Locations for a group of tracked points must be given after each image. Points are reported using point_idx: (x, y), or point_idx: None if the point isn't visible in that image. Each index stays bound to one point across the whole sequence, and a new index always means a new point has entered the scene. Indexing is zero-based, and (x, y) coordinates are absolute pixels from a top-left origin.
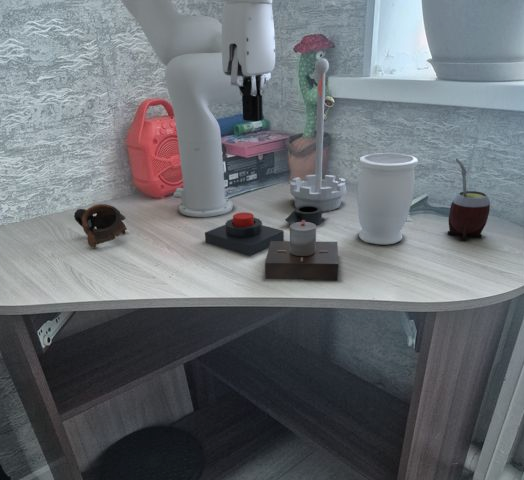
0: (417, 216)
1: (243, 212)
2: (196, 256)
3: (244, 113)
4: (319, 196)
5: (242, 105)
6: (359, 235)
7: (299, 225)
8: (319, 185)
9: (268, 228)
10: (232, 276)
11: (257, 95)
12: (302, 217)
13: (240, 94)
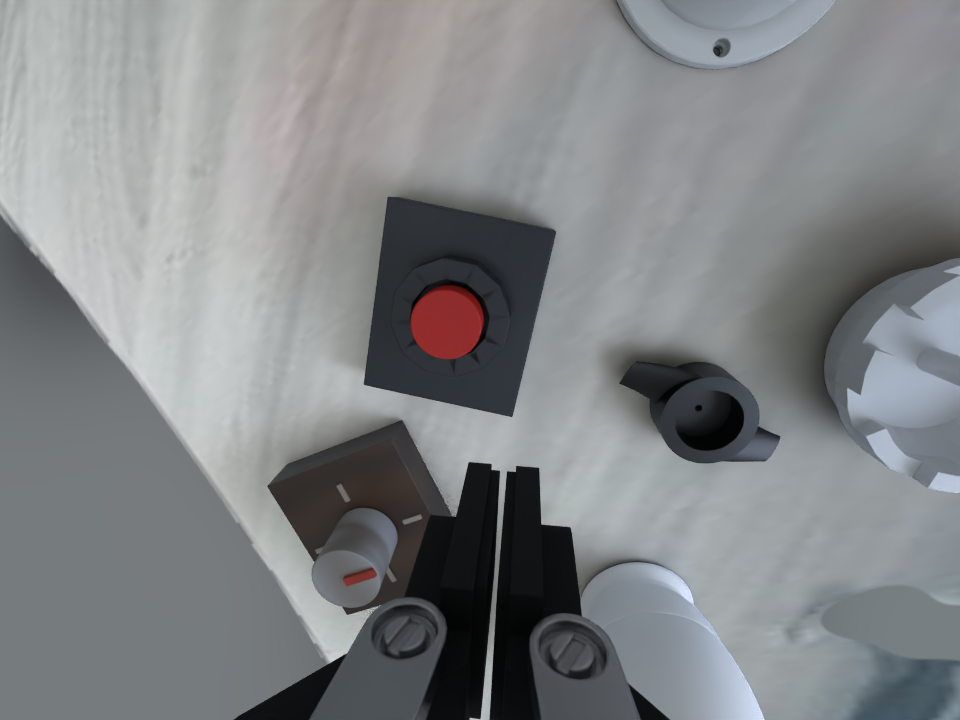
0: (845, 648)
1: (475, 308)
2: (303, 236)
3: (431, 516)
4: (846, 419)
5: (455, 520)
6: (614, 568)
7: (343, 571)
8: None
9: (510, 368)
10: (259, 393)
11: (501, 712)
12: (657, 415)
13: (378, 608)
